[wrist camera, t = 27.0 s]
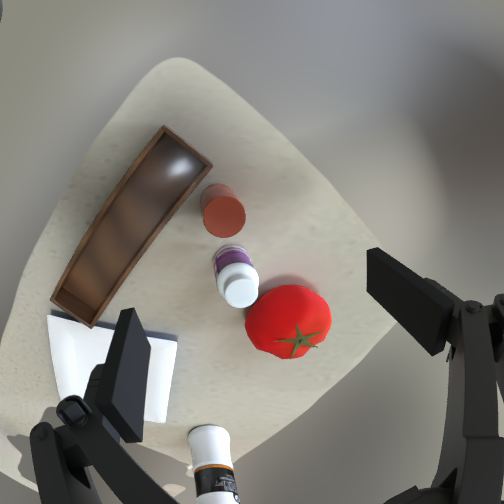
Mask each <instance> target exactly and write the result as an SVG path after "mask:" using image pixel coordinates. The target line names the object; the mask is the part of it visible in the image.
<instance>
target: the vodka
mask: <svg viewBox="0 0 504 504" xmlns="http://www.w3.org/2000/svg"><path fill="white" fill-rule="evenodd" d="M188 443H189V446H190V449H191V454H192V460H193V473H194V479H195V487H196V497H197V499H196V503H197V504H240V503H239V498H238V493H237V488H236V483H235V478H234V474H233V466H232V462H231V457H230V445H229V444H230V436H229V433H228V432H227V431H226V430H225V429H223V428H221V427H219V426H213V425H206V426H201V427H197V428H195V429H193V430H192V431H191V432H190V433H189V436H188Z"/></svg>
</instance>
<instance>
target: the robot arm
mask: <svg viewBox="0 0 504 504" xmlns="http://www.w3.org/2000/svg"><path fill="white" fill-rule="evenodd" d="M367 292H368V293H369V294H370V295H371V296H372V297H373V298H374V299H375V300H376V301H377V302H378V303H379V304H380V305H381V306H382V307H383V308H384V309H385V310H386V311H387V312H388V313H389V314H390V315H391V316H392V317H394V318H395V319H396V320H397V321H398V322H399V323H400V324H401V325H402V326H403V327H404V328H405V329H406V330H407V331H408V332H409V333H410V334H411V335H412V336H413V337H414V338H415V339H416V341H417V342H418V343H419V344H420V345H421V346H422V347H423V348H425V350H426V351H427V352H428V353H429V354H430V355H431V356H434V355H436V354H438V353H439V352H441V351H443V350H444V347H445V343H446V340H447V341H448V342H449V343H450V344H451V346H450V350H449V353H448V356H447V360H446V362H448V360H449V384H448V399H447V412H446V420H445V428H444V436H443V442H442V449H441V455H440V460H439V465H438V470H437V473H436V475H435V478H434V480H433V482H432V485H431V488H424V489H419V490H418V488H417V487H416V486H414V487H412V488H410V489H408V490H406V491H404V492H403V493H401V494H399V495H397V496H395V497H393V498H391V499H389V500H388V501H386V502H385V503H384V504H504V501H502V500H501V495H502V486H503V476H504V438H503V437H499V435H498V400H497V384H498V387H499V389H500V393H501V396H502V398H503V402H504V294H498V295H496V296H495V299H494V303H493V304H492V305H488V306H483V305H482V304H481V303H479V302H477V301H472V300H471V301H470V300H469V301H465V302H464V301H462V300H461V299H459V298H458V297H457V296H455V295H454V294H453V293H451V292H450V291H449V290H447V289H446V288H444V287H443V286H441V285H440V284H439V283H437V282H436V281H434V280H431V279H428V278H424V279H423V278H422V277H420V276H419V275H417V274H416V273H415V272H413V271H412V270H410V269H409V268H407V267H406V266H405V265H403V264H402V263H400V262H399V261H397V260H396V259H394V258H393V257H391V256H390V255H389V254H387V253H386V252H384V251H383V250H381V249H380V248H378V247H376V248H373V249H369V250H367ZM150 353H151V345H150V343H149V341H148V339H147V336H146V334H145V332H144V330H143V327H142V325H141V323H140V320H139V318H138V316H137V313H136V311H135V308H134V307H133V308H129V309H124V310H121V312H120V315H119V318H118V321H117V325H116V328H115V331H114V334H113V337H112V340H111V343H110V347H109V350H108V353H107V357H106V360H105V363H103V364H97V365H96V366H95V367H94V369H93V370H92V371H91V374H90V377H89V382H88V383H87V388H86V390H85V394H84V397H83V399H82V398H81V397H80V396H78V395H70V396H67V397H65V398H64V399H63V400H61V401H60V403H59V404H58V406H57V410H56V413H57V416H58V417H59V418H60V419H61V420H62V422H63V423H64V424H65V425H63V426H60V427H57V428H53V426H52V425H51V424H49V423H48V422H41V423H39V424H37V425H35V426H34V428H33V429H32V430H31V433H30V445H31V452H32V459H33V465H34V471H35V475H36V481H37V486H38V490H39V495H40V499H41V503H42V504H102V502H101V500H100V498H99V495H98V493H97V490H96V488H95V485H94V483H93V480H92V477H91V475H90V472H89V469H88V466H91V465H93V466H94V468H95V469H96V470H97V472H98V473H99V475H100V476H101V477H102V479H103V480H104V481H105V482H106V484H107V485H108V486H109V487H110V489H111V490H112V491H113V492H114V494H115V495H116V496H117V497H118V498H119V500H120V501H121V502H122V503H123V504H180V503H179V502H177V501H176V500H175V499H174V498H173V497H172V496H171V495H169V494H168V493H167V492H166V491H165V490H164V489H163V488H162V487H161V486H160V485H158V483H156V482H155V481H154V480H153V479H152V478H151V477H150V476H149V475H148V474H147V473H146V472H145V471H144V470H143V469H142V468H141V467H140V466H139V465H138V464H137V463H136V462H135V460H134V459H133V458H132V457H131V456H130V455H129V454H128V453H127V452H126V451H125V450H124V448H123V447H122V446H121V445H120V444H119V442H120V437H121V438H122V439H123V440H124V441H125V442H126V443H137V442H142V440H143V424H144V411H145V399H146V389H147V379H148V370H149V362H150ZM496 381H497V384H496Z"/></svg>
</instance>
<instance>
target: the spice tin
mask: <svg viewBox="0 0 504 504" xmlns="http://www.w3.org/2000/svg"><path fill="white" fill-rule="evenodd" d="M201 208H202V216H203V222H204V225H205V227H206V229H207V230H208V231H209V232H210V233H211V234H212V235H214V236H216V237H220V238H227V237H231V236H233V235H235V234H237V233H238V232H239V231H240V230H241V229H242V227H243V226H244V223H245V220H246V213H245V209H244V207H243V205H242V204H241V203H240V201H239V200H238V199H237V197H236V196H235V195H234V193H233V192H232V191H231V189H230V188H228V187H227V186H225V185H222V184H214V185H211V186H209V187H208V188H207V189H205V191H204V192H203V194H202V196H201Z"/></svg>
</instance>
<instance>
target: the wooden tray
mask: <svg viewBox="0 0 504 504" xmlns="http://www.w3.org/2000/svg"><path fill="white" fill-rule="evenodd" d="M213 166H214V165H213V163H212V162H211V161H209V160H208V159H207V158H206V157H205V156H203V155H202V154H201V153H200V152H198V151H197V150H196V149H195V148H194V147H192V146H191V145H190V144H189V143H187V142H186V141H185V140H184V139H182V138H181V137H180V136H179V135H177V134H176V133H175V132H174V131H172V130H171V129H170V128H169V127H167V126H165V125H163V126H162V128H161V129H160V130H159V131H158V132H157V134H156V135H155V136H154V137H153V139H152V140H151V141H150V142H149V143H148V145H147V146H146V147H145V149H144V150H143V151H142V152H141V154H140V155H139V156H138V158H137V159H136V160H135V162H134V163H133V164H132V166H131V167H130V168H129V170H128V171H127V172H126V174H125V175H124V177H123V178H122V179H121V181H120V182H119V184H118V185H117V186H116V188H115V189H114V191H113V192H112V194H111V195H110V197H109V198H108V199H107V201H106V202H105V204H104V205H103V207H102V209H101V210H100V212H99V213H98V215H97V216H96V218H95V219H94V221H93V223H92V224H91V226H90V227H89V229H88V231H87V232H86V234H85V236H84V237H83V239H82V241H81V242H80V244H79V246H78V247H77V249H76V251H75V253H74V254H73V256H72V258H71V260H70V262H69V263H68V265H67V267H66V269H65V271H64V273H63V275H62V276H61V278H60V280H59V282H58V284H57V286H56V288H55V290H54V292H53V294H52V296H51V298H50V301H51V302H53V303H54V304H55V305H57V306H58V307H60V308H61V309H62V310H64V311H65V312H66V313H68V314H69V315H71V316H72V317H74V318H75V319H77V320H78V321H79V322H81V323H82V324H84V325H85V326H87V327H88V328H90V329H92V328H93V327H94V325H95V324H96V322H97V321H98V319H99V318H100V316H101V315H102V313H103V311H104V310H105V308H106V307H107V305H108V304H109V302H110V301H111V300H112V298H113V297H114V295H115V294H116V292H117V291H118V289H119V288H120V286H121V285H122V284H123V282H124V281H125V279H126V278H127V276H128V275H129V274H130V272H131V271H132V269H133V268H134V267H135V265H136V264H137V262H138V261H139V260H140V258H141V257H142V256H143V254H144V253H145V252H146V250H147V249H148V247H149V246H150V245H151V243H152V242H153V241H154V239H155V238H156V237H157V236H158V234H159V233H160V232H161V230H162V229H163V228H164V226H165V225H166V224H167V223H168V221H169V220H170V219H171V217H172V216H173V215H174V214H175V212H176V211H177V210H178V209H179V207H180V206H181V205H182V204H183V202H184V201H185V200H186V199H187V197H188V196H189V195H190V194H191V193H192V191H193V190H194V189H195V188H196V187H197V185H198V184H199V183H200V182H201V181H202V179H203V178H204V177H205V176H206V175H207V173H208V172H209V171H210V170H211V169H212V168H213Z"/></svg>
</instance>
